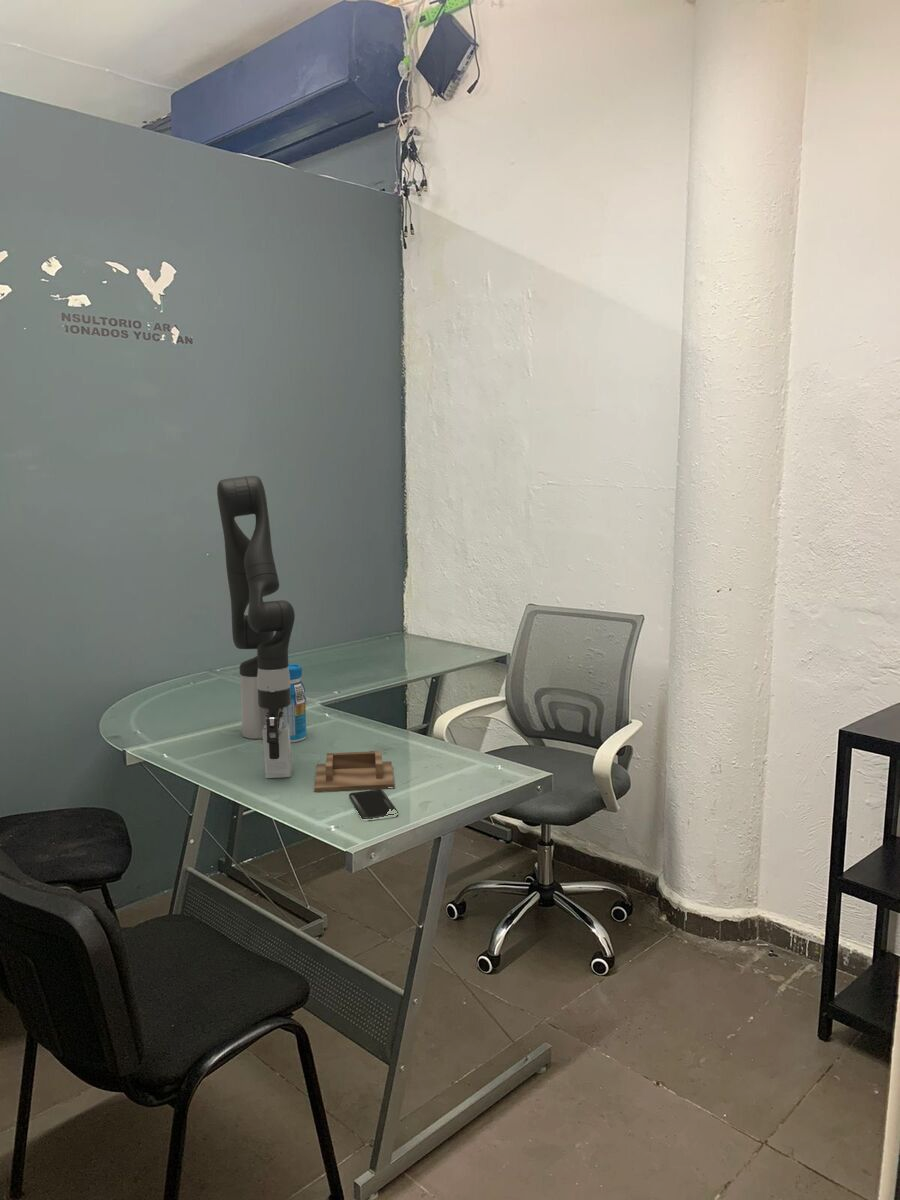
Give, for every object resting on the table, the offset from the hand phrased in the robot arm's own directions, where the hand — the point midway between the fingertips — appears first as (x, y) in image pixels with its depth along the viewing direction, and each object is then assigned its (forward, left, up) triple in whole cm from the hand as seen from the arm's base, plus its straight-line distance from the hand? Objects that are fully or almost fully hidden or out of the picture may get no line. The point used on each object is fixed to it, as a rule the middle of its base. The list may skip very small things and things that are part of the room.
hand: (276, 752), depth 204 cm
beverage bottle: (-29, +1, -6) cm, 30 cm away
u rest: (+4, +18, -6) cm, 19 cm away
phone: (+22, +22, -6) cm, 32 cm away
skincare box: (0, 0, -6) cm, 6 cm away
